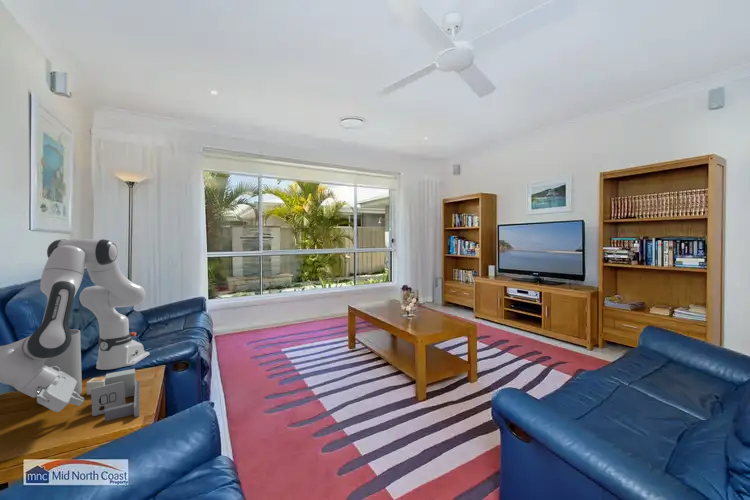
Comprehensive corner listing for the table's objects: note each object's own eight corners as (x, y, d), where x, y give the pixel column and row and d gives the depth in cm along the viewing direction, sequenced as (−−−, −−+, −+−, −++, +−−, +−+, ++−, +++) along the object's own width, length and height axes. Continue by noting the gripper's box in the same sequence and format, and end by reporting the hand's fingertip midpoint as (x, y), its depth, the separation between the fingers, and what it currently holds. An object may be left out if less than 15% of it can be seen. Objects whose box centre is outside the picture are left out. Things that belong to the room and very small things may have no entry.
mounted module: (106, 396, 127) (105, 373, 126) (135, 390, 132) (134, 368, 132) (105, 401, 123) (104, 378, 122) (135, 395, 128) (134, 372, 128)
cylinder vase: (31, 401, 123) (28, 336, 122) (73, 387, 134) (71, 327, 133) (44, 409, 117) (42, 341, 116) (88, 394, 128) (86, 332, 127)
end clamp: (105, 418, 112) (105, 408, 112) (134, 411, 116) (134, 402, 116) (104, 421, 110) (104, 411, 110) (134, 414, 115) (134, 404, 115)
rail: (135, 390, 132) (135, 380, 132) (139, 389, 133) (139, 379, 133) (134, 417, 113) (133, 406, 113) (139, 416, 114) (139, 404, 113)
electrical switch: (91, 417, 112) (91, 390, 113) (90, 413, 116) (90, 387, 116) (125, 408, 119) (124, 382, 119) (123, 404, 123) (123, 379, 123)
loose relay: (93, 390, 132) (93, 377, 132) (110, 388, 133) (109, 376, 133) (86, 394, 128) (86, 382, 128) (104, 393, 129) (103, 380, 129)
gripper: (43, 385, 100) (86, 407, 106) (57, 364, 117) (93, 383, 123) (23, 404, 98) (68, 425, 104) (39, 379, 114) (78, 398, 120)
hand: (82, 402), depth 113 cm, fingers closed
